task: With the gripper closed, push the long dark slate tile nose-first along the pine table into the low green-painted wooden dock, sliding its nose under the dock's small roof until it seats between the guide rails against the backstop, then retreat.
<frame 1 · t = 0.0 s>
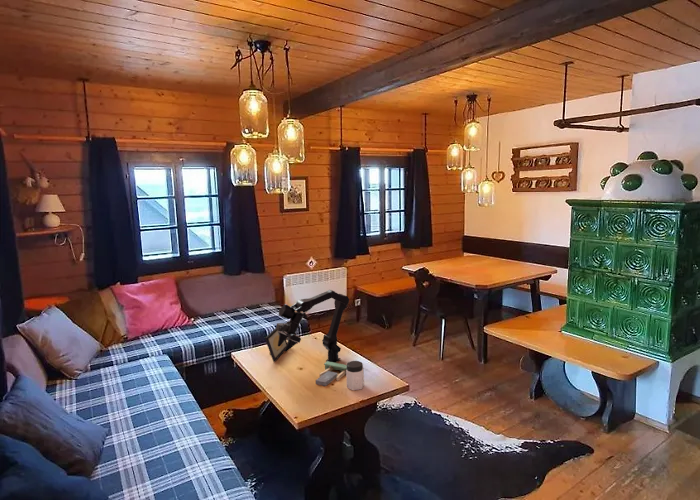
hand: (281, 348, 234), 15 cm above the table, tool tilted 35°, fingers open, 9 cm apart
slate tile: (327, 381, 228), on the table
dock: (333, 374, 234), on the table
jar: (355, 386, 220), on the table
picture frame: (275, 354, 266), on the table
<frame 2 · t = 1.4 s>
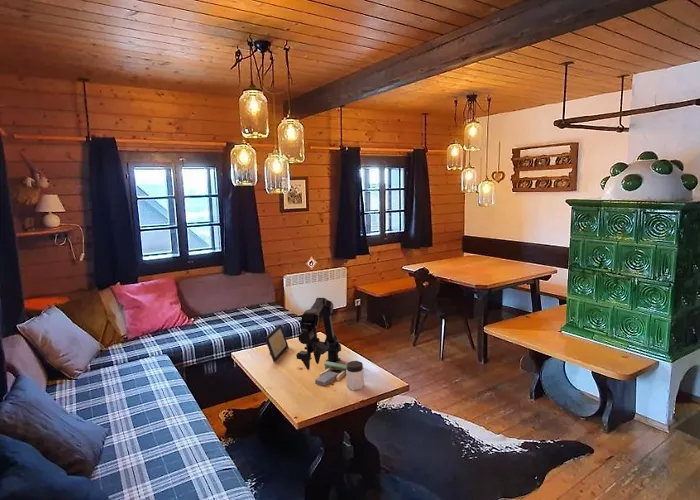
hand: (312, 366, 217), 12 cm above the table, tool pointing down, fingers open, 8 cm apart
nothing on the table moved.
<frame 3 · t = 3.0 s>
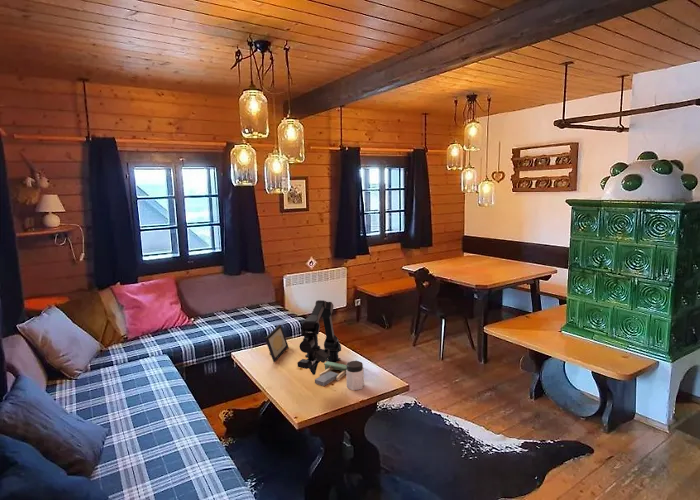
hand: (313, 374, 217), 8 cm above the table, tool pointing down, fingers closed
nothing on the table moved.
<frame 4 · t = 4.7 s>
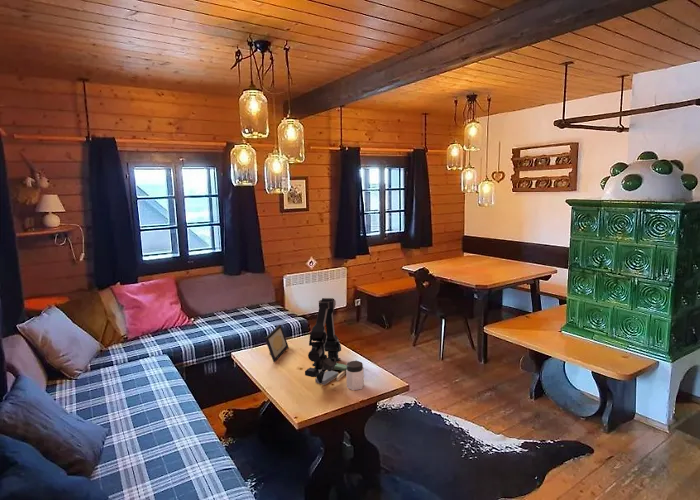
hand: (320, 382, 223), 1 cm above the table, tool pointing down, fingers closed
slate tile: (327, 379, 230), on the table, touching gripper
everything else where it was.
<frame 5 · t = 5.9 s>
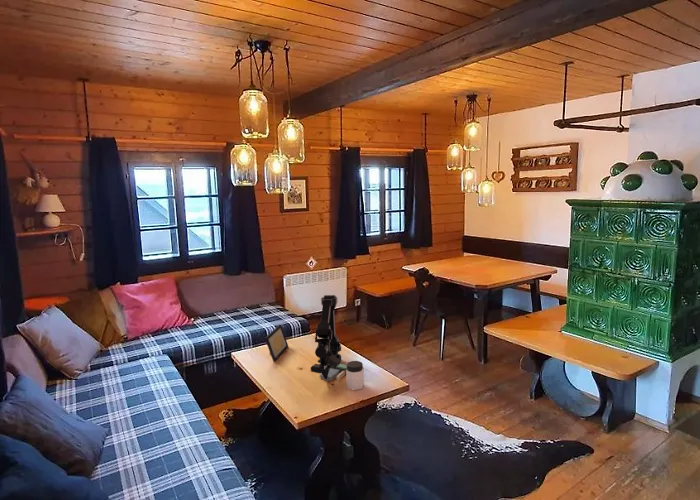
hand: (325, 378, 227), 1 cm above the table, tool pointing down, fingers closed
slate tile: (331, 376, 234), on the table
everything else where it was.
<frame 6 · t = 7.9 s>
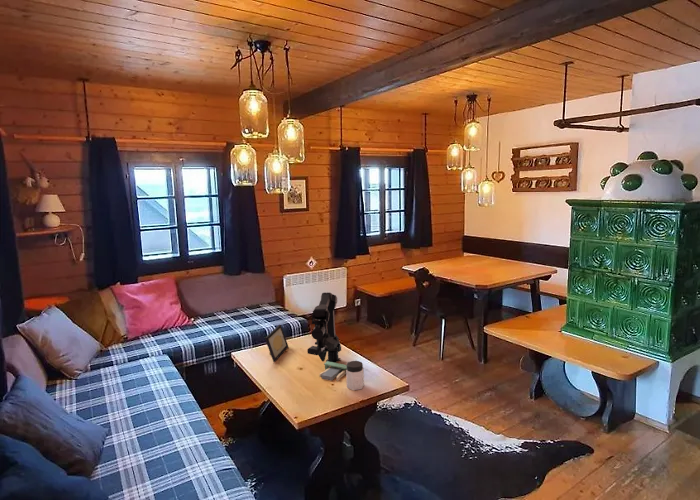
hand: (323, 361, 224), 12 cm above the table, tool pointing down, fingers closed
nothing on the table moved.
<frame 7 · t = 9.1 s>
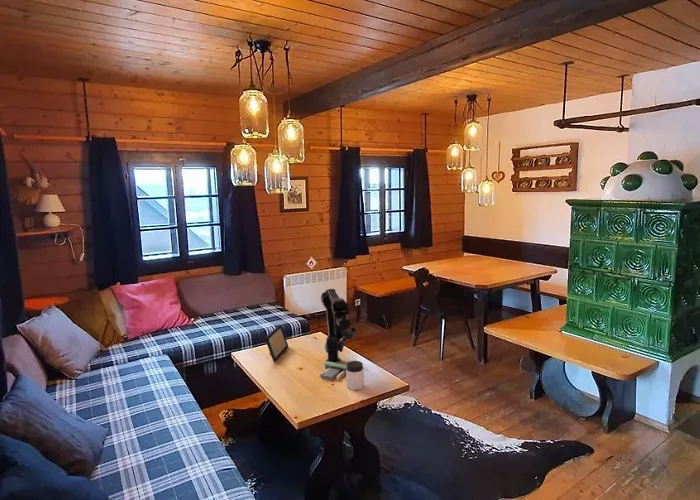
hand: (341, 351, 232), 13 cm above the table, tool pointing down, fingers closed
nothing on the table moved.
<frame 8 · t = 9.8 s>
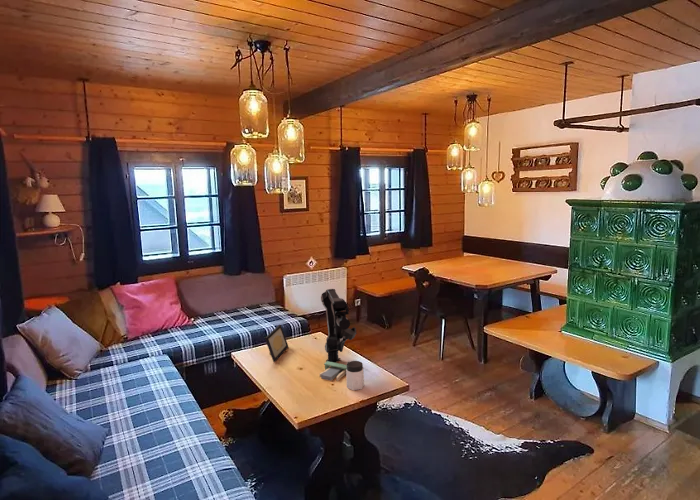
hand: (341, 351, 232), 13 cm above the table, tool pointing down, fingers closed
nothing on the table moved.
at the end: slate tile 0.8 cm off-centre on the dock, point -0.5 cm above the dock's base; slate tile tilted 0°; slate tile moved 6.6 cm from its start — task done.
